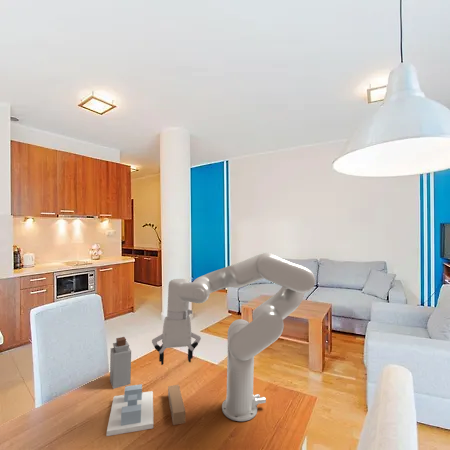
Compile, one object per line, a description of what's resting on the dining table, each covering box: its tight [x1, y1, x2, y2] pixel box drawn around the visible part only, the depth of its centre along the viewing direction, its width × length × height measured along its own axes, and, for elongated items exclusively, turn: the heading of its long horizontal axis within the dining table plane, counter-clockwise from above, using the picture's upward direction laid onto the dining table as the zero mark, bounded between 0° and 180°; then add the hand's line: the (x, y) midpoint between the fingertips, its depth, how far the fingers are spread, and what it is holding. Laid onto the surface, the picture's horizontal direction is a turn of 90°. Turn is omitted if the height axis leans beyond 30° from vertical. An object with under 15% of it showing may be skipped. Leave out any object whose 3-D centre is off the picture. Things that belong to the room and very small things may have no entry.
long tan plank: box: [167, 384, 186, 426], centre depth 98 cm, size 4×16×4 cm, turn 17°
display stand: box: [106, 383, 154, 437], centre depth 95 cm, size 14×18×6 cm
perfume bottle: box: [109, 336, 132, 389], centre depth 114 cm, size 7×7×18 cm
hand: (175, 361), depth 98 cm, fingers open, 9 cm apart
